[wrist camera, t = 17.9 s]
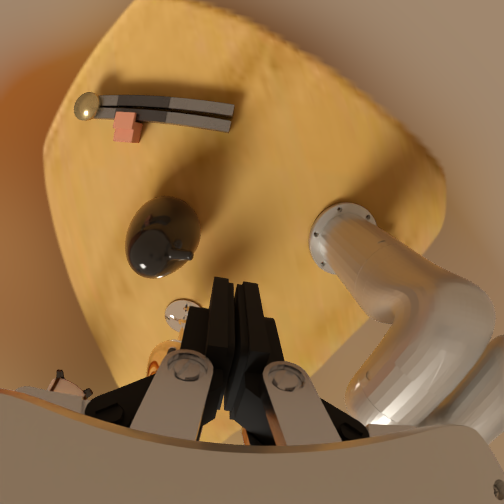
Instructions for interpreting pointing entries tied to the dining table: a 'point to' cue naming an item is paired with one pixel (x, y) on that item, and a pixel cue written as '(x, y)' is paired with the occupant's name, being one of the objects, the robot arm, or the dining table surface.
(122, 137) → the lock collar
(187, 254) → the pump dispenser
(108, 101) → the tongs moving arm
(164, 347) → the wineglass
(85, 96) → the tongs fixed arm
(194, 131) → the dining table surface
